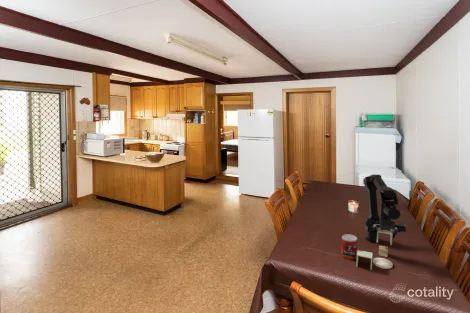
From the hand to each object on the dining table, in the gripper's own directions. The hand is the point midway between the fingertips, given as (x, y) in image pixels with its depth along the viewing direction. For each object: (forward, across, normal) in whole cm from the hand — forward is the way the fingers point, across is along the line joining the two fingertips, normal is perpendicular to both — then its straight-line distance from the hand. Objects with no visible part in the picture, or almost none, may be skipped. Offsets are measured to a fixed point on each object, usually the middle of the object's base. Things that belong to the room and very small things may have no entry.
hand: (384, 239), depth 145 cm
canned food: (+9, -17, -9) cm, 21 cm away
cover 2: (+1, 0, 0) cm, 1 cm away
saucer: (+9, 0, -10) cm, 14 cm away
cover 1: (+9, -9, -16) cm, 20 cm away
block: (+9, 0, 0) cm, 9 cm away
